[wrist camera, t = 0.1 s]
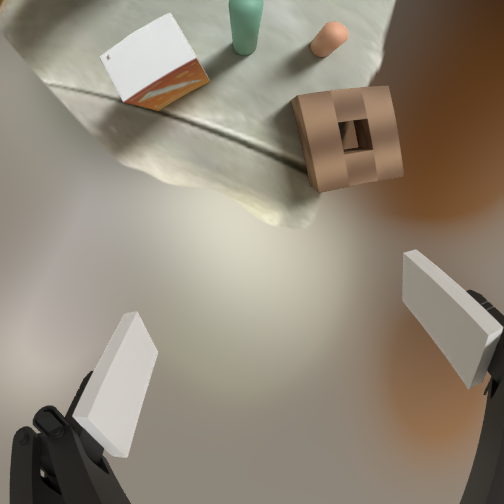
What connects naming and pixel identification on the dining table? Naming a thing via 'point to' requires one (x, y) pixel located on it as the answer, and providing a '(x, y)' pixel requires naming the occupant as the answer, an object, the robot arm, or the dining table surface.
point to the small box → (154, 65)
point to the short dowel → (329, 39)
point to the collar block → (330, 144)
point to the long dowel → (245, 24)
